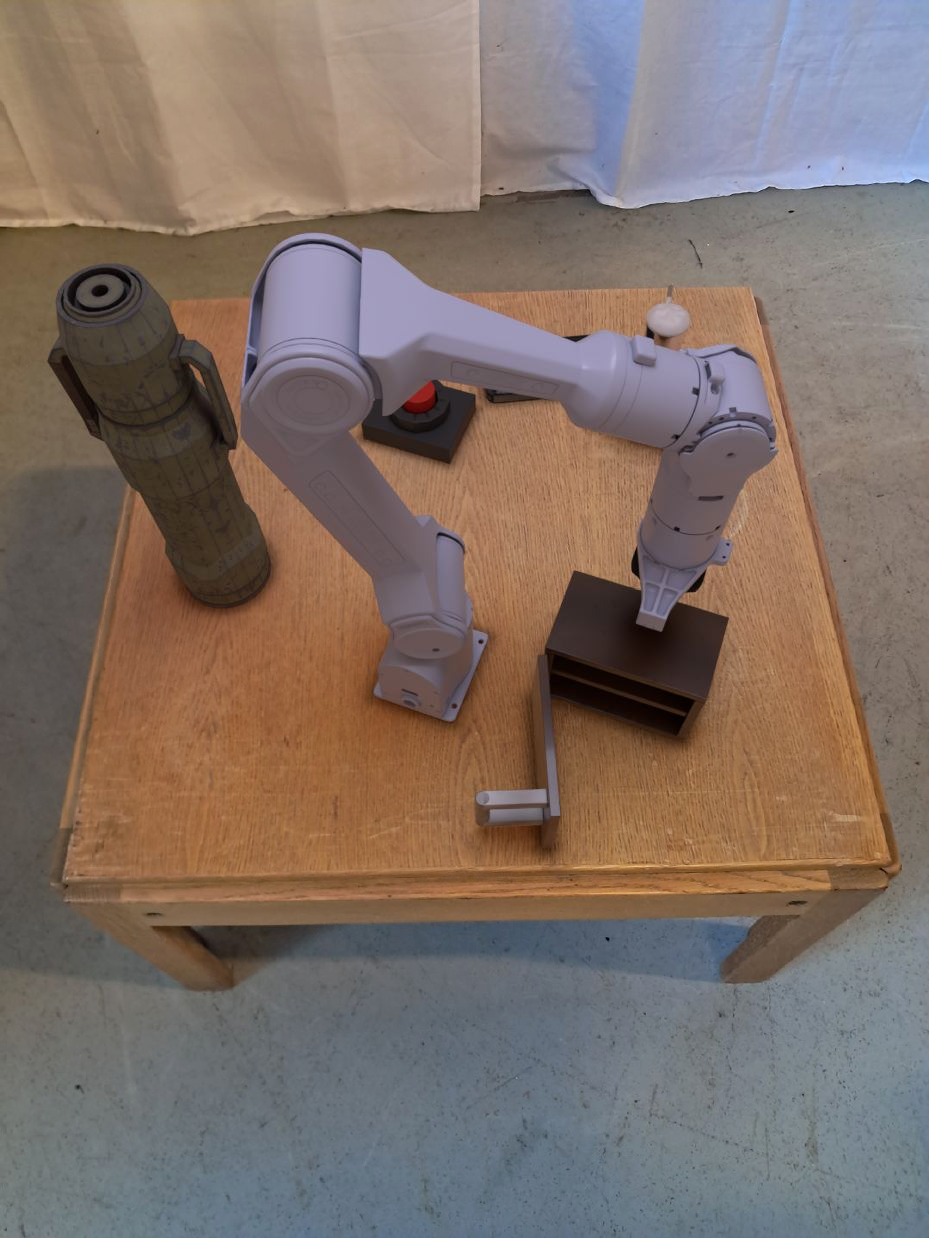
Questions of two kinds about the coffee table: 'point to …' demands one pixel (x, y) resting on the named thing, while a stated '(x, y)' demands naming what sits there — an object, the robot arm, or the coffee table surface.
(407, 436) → the switch block
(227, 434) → the thermos
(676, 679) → the cupboard
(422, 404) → the button
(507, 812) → the door
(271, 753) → the coffee table surface
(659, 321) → the milkshake
